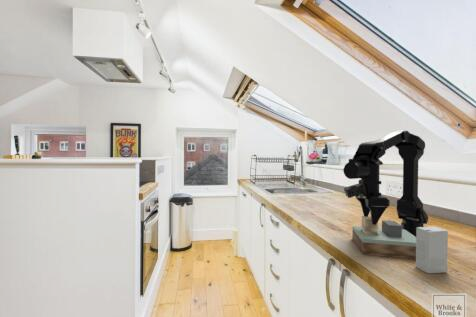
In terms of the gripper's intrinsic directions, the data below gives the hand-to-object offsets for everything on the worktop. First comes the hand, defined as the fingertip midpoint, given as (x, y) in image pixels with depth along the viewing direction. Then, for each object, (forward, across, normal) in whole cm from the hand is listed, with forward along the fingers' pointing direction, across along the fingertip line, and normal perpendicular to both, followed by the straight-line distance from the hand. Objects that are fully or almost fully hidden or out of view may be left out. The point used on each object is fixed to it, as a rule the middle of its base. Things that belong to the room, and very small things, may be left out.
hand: (369, 220), depth 82 cm
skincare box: (+10, +14, +12) cm, 21 cm away
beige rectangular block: (+7, 0, 0) cm, 7 cm away
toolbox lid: (+6, 0, +5) cm, 7 cm away
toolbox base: (+10, 0, +5) cm, 11 cm away
